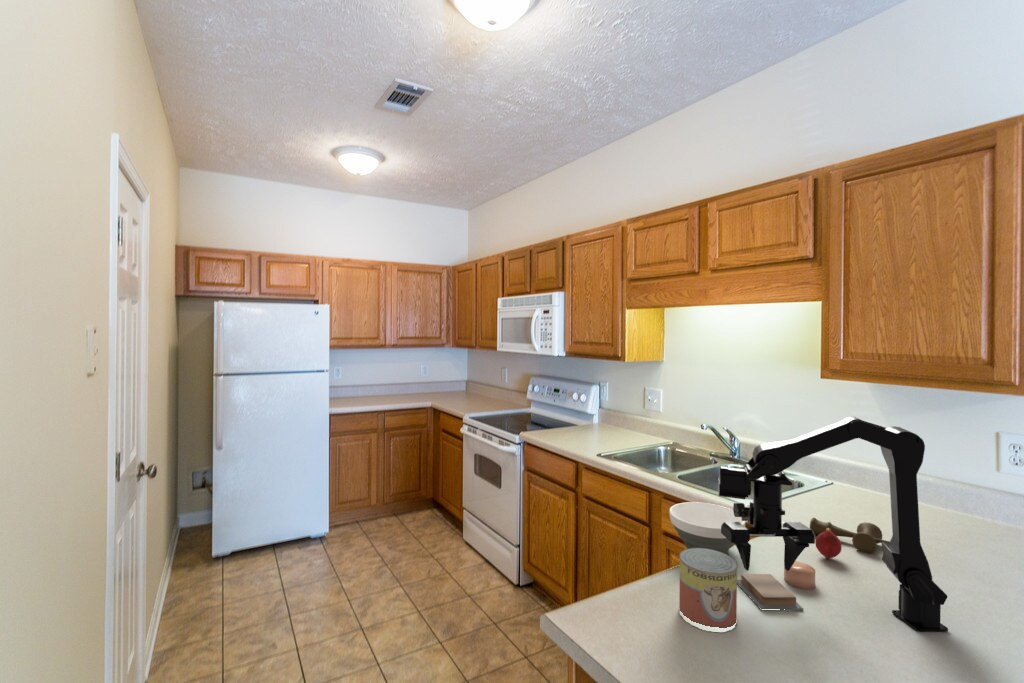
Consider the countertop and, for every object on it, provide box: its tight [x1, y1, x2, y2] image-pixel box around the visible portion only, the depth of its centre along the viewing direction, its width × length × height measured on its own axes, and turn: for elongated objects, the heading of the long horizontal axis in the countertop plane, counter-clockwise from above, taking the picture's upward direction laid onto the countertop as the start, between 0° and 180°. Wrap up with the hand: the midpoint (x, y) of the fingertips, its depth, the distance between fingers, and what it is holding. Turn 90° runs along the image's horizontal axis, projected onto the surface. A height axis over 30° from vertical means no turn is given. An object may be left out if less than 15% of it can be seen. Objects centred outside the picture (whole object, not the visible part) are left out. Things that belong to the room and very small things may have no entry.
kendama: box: [809, 517, 890, 555], centre depth 135 cm, size 6×10×20 cm
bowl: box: [669, 501, 746, 555], centre depth 132 cm, size 20×20×10 cm
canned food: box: [678, 548, 738, 628], centre depth 100 cm, size 11×11×12 cm
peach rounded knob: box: [783, 560, 816, 590], centre depth 114 cm, size 6×6×4 cm
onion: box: [814, 528, 843, 560], centre depth 126 cm, size 6×6×8 cm
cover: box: [740, 573, 797, 606], centre depth 108 cm, size 10×7×2 cm
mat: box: [737, 579, 804, 611], centre depth 108 cm, size 12×9×1 cm
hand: (766, 569), depth 108 cm, fingers open, 9 cm apart
